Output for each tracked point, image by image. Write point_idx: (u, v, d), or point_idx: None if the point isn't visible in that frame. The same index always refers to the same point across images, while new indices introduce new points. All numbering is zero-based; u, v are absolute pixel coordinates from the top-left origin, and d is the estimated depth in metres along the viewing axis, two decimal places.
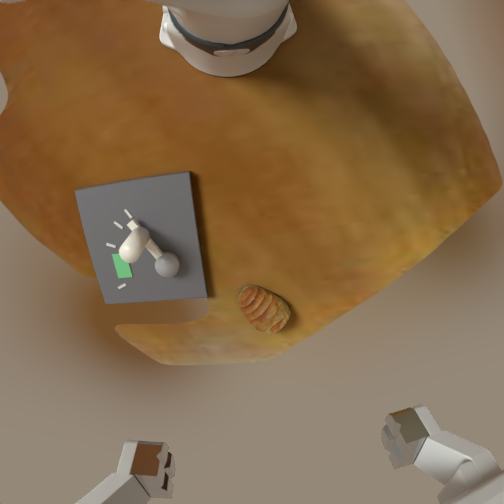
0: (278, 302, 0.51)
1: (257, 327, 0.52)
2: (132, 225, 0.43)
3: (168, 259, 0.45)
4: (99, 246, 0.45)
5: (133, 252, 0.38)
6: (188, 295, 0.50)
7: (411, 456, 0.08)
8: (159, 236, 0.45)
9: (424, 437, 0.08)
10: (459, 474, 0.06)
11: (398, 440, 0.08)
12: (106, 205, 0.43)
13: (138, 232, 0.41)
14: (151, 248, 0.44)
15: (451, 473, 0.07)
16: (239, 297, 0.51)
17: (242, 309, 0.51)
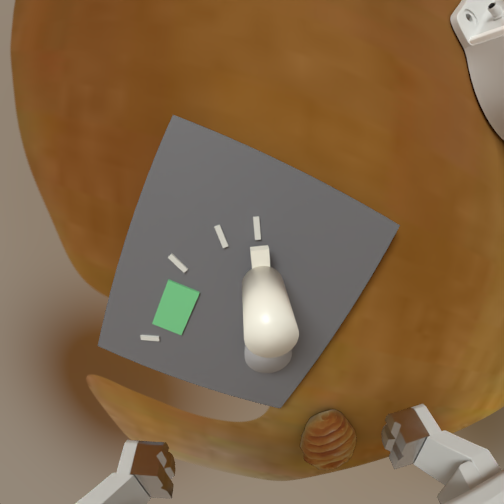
0: (354, 439, 0.30)
1: (309, 459, 0.30)
2: (261, 258, 0.21)
3: None
4: (150, 251, 0.22)
5: (282, 339, 0.16)
6: (255, 397, 0.27)
7: (411, 456, 0.08)
8: None
9: (424, 437, 0.08)
10: (459, 474, 0.06)
11: (398, 441, 0.08)
12: (222, 185, 0.21)
13: (282, 286, 0.19)
14: None
15: (451, 473, 0.07)
16: (316, 423, 0.29)
17: (309, 437, 0.29)
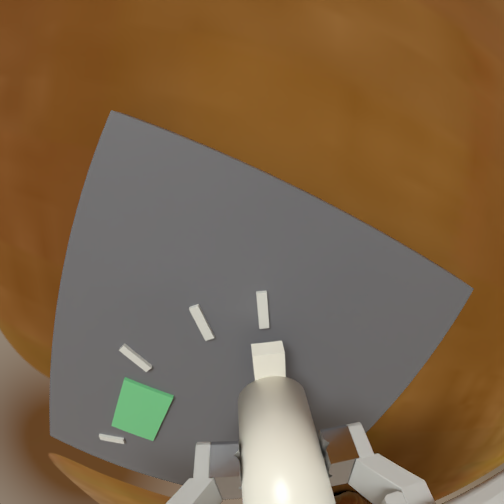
0: None
1: None
2: (270, 366, 0.11)
3: None
4: (93, 338, 0.13)
5: None
6: None
7: (342, 476, 0.08)
8: None
9: (353, 459, 0.08)
10: None
11: (326, 459, 0.08)
12: (201, 238, 0.11)
13: (308, 421, 0.10)
14: None
15: None
16: None
17: None
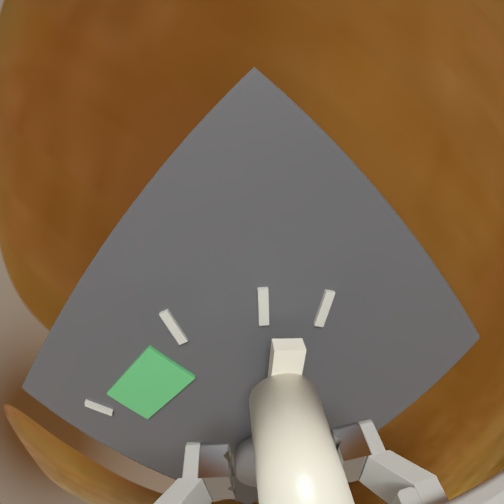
0: None
1: None
2: (289, 362, 0.11)
3: None
4: (131, 294, 0.12)
5: None
6: None
7: (354, 473, 0.08)
8: None
9: (365, 456, 0.08)
10: (397, 500, 0.06)
11: None
12: (298, 223, 0.11)
13: (324, 420, 0.10)
14: None
15: (396, 496, 0.07)
16: None
17: None
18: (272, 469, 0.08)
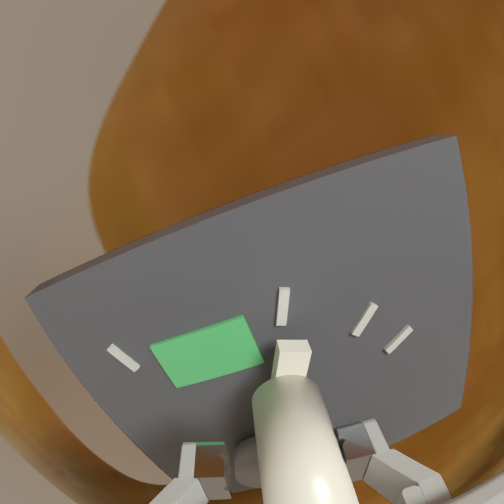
0: None
1: None
2: (294, 364, 0.11)
3: None
4: (263, 258, 0.12)
5: None
6: None
7: (358, 472, 0.08)
8: (333, 419, 0.15)
9: (369, 455, 0.08)
10: (402, 499, 0.06)
11: None
12: (422, 265, 0.12)
13: (329, 422, 0.10)
14: None
15: (400, 494, 0.07)
16: None
17: None
18: (278, 471, 0.07)
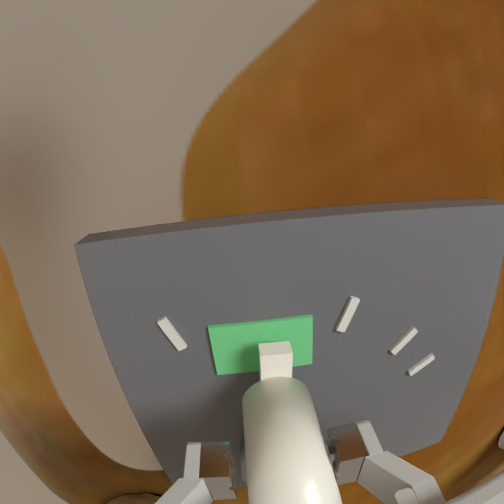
0: None
1: None
2: (277, 366, 0.11)
3: None
4: (348, 266, 0.12)
5: None
6: (172, 469, 0.16)
7: (351, 474, 0.08)
8: None
9: (363, 456, 0.08)
10: (394, 501, 0.06)
11: (335, 457, 0.08)
12: (458, 304, 0.13)
13: (314, 422, 0.10)
14: None
15: (393, 496, 0.07)
16: None
17: None
18: (259, 474, 0.08)
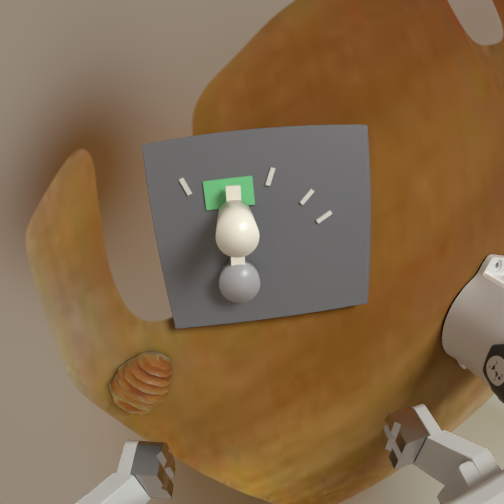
0: (161, 400, 0.33)
1: (116, 385, 0.32)
2: (234, 193, 0.25)
3: (250, 275, 0.27)
4: (267, 151, 0.26)
5: (246, 240, 0.20)
6: (175, 302, 0.30)
7: (411, 456, 0.08)
8: (282, 263, 0.29)
9: (424, 437, 0.08)
10: (459, 474, 0.06)
11: (398, 441, 0.08)
12: (340, 179, 0.27)
13: (249, 210, 0.24)
14: None
15: (451, 473, 0.07)
16: (152, 357, 0.32)
17: (135, 364, 0.31)
18: (220, 217, 0.22)
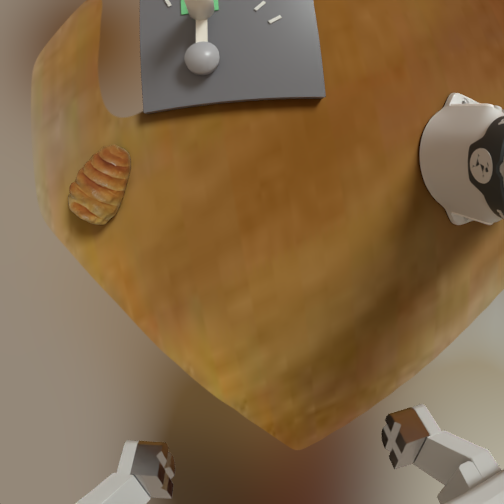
0: (115, 202, 0.33)
1: (74, 184, 0.32)
2: None
3: (211, 49, 0.27)
4: None
5: None
6: (147, 86, 0.30)
7: (411, 456, 0.08)
8: (240, 51, 0.29)
9: (424, 437, 0.08)
10: (459, 474, 0.06)
11: (398, 441, 0.08)
12: None
13: None
14: (201, 28, 0.26)
15: (451, 473, 0.07)
16: (112, 146, 0.31)
17: (95, 155, 0.31)
18: None
